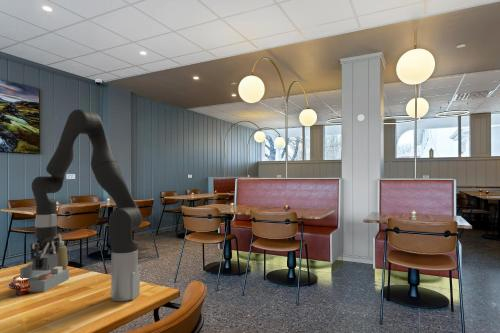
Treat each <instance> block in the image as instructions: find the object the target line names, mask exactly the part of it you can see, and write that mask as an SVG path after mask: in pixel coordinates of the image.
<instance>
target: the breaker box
mask: <svg viewBox="0 0 500 333" xmlns="http://www.w3.org/2000/svg"><path fill="white" fill-rule="evenodd" d="M19 271H20V273H19V277H20V278H22V279H23V278H30V279H29V280H28V281H27V282H28V283H29V285H30V291H29V292H37V293H39V292H40V293H42V292H43V293H44V292H46V291H49V290H51V289H52V288H54V287H56V286H58V285H60V284H62V283H65V282H66V281H68V280H69V277H70V276H69V275H70V274H69V273H70V269H66V270H63V267H55V268H52V269H51V270H47V271H41V270H32V261H29V262H28V263H27V265H25V266H23V267H20V270H19ZM43 274H52V277H50V278H48V279H39V276H40V275H43ZM20 278H19V279H20Z"/></svg>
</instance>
